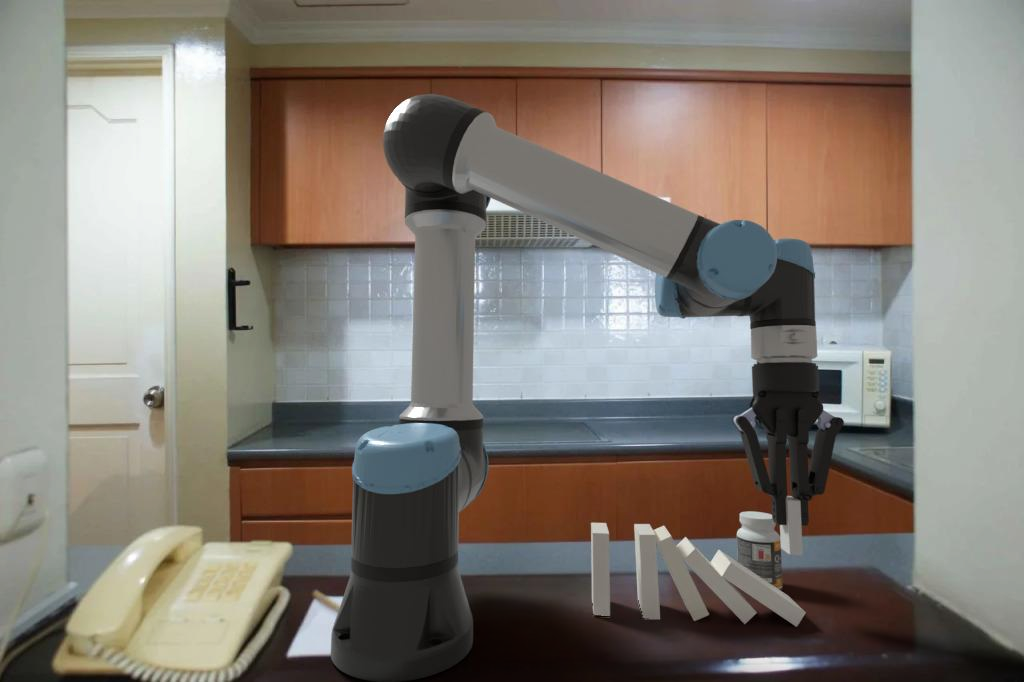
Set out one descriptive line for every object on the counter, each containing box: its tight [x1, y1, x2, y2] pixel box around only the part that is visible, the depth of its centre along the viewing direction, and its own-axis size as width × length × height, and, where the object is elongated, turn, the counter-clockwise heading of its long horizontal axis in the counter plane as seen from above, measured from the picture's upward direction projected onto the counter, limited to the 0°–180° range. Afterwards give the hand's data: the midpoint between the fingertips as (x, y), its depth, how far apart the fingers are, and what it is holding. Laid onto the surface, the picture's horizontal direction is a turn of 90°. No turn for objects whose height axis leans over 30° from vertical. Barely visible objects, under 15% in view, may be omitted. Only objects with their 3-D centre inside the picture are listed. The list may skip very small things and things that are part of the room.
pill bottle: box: [736, 510, 783, 590], centre depth 74 cm, size 6×6×10 cm
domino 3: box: [653, 525, 710, 622], centre depth 65 cm, size 2×5×10 cm, turn 176°
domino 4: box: [676, 536, 758, 625], centre depth 65 cm, size 2×5×10 cm
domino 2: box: [633, 523, 661, 620], centre depth 66 cm, size 2×5×10 cm, turn 174°
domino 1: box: [590, 522, 611, 617], centre depth 67 cm, size 2×5×10 cm, turn 174°
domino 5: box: [710, 549, 807, 627], centre depth 64 cm, size 2×5×10 cm
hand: (791, 551), depth 64 cm, fingers closed
